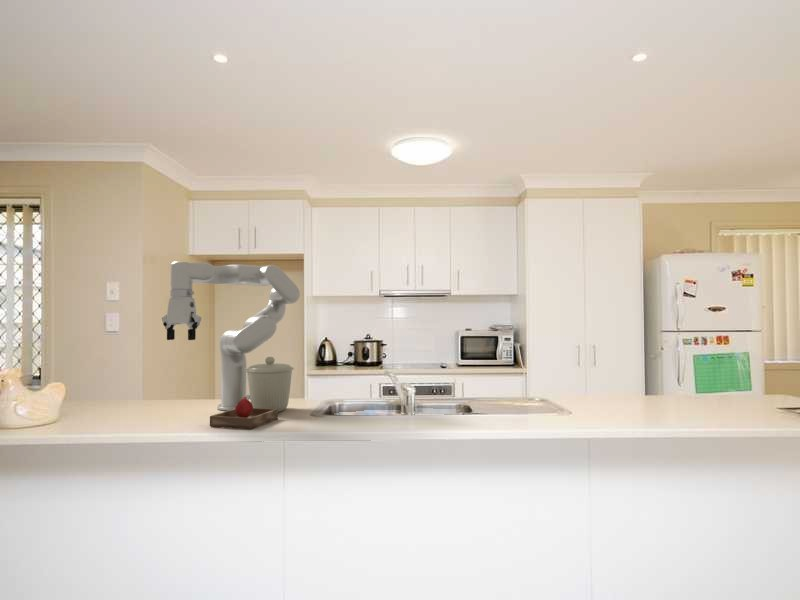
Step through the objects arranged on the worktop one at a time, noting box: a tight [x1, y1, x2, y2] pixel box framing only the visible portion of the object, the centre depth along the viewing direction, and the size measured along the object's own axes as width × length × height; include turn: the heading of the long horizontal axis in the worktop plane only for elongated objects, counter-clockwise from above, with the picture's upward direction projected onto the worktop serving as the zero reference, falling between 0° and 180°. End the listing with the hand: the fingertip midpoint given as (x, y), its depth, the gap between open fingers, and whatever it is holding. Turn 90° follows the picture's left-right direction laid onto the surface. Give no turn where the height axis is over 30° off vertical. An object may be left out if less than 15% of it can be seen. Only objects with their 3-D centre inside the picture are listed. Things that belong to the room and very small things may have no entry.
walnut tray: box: [209, 408, 279, 430], centre depth 159 cm, size 16×16×4 cm
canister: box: [246, 356, 295, 413], centre depth 179 cm, size 18×18×21 cm
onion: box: [235, 396, 253, 418], centre depth 159 cm, size 6×6×8 cm
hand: (181, 339), depth 172 cm, fingers open, 9 cm apart
